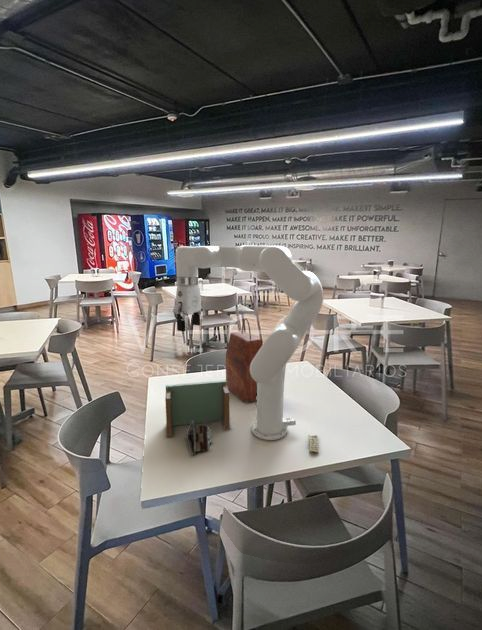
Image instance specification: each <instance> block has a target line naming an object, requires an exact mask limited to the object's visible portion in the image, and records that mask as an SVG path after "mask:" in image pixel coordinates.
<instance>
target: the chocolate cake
mask: <svg viewBox="0 0 482 630" xmlns="http://www.w3.org/2000/svg"><path fill="white" fill-rule="evenodd" d="M211 432H212V429H210V427H209V426H208V425H204V424H203V425H202V424H196V423H193V419H192V422H191V424H189V426H188V427H187V432H186V436H185V437H186V443H187V445H188V449H189V451H190V455H191V456H193V455H195V454H196V453H197V452H208V451H209V450H210V445H211V444H212V441H211V440H212V438H211V434H210V433H211Z"/></svg>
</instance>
